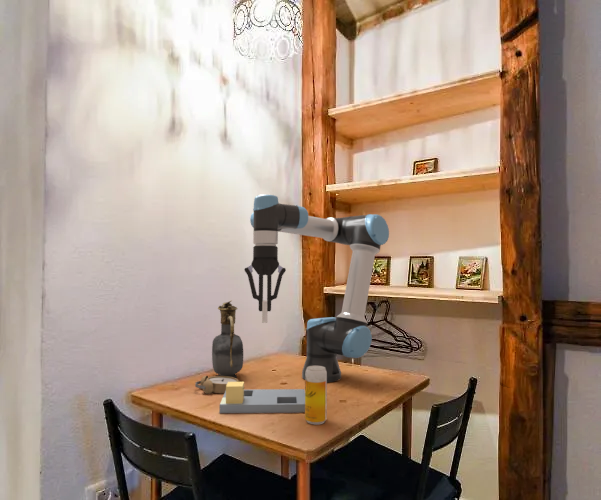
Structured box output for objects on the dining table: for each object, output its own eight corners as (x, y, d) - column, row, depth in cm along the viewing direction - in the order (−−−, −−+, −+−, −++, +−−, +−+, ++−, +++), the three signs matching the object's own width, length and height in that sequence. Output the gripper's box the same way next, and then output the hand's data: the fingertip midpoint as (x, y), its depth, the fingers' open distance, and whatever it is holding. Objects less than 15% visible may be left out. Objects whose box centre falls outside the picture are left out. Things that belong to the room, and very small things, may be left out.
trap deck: (304, 396, 141) (304, 389, 142) (307, 412, 126) (307, 404, 127) (225, 396, 140) (226, 389, 140) (219, 413, 125) (219, 405, 125)
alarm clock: (242, 383, 146) (199, 380, 141) (240, 398, 146) (196, 395, 140) (235, 375, 156) (194, 372, 151) (232, 389, 156) (191, 386, 150)
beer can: (304, 417, 122) (304, 365, 123) (324, 417, 123) (325, 365, 123) (306, 425, 116) (306, 370, 117) (327, 425, 117) (328, 370, 117)
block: (243, 397, 132) (244, 381, 132) (242, 403, 127) (242, 386, 127) (227, 398, 132) (227, 381, 132) (225, 403, 127) (225, 386, 127)
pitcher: (237, 372, 172) (238, 298, 173) (246, 385, 154) (247, 302, 155) (210, 374, 168) (211, 298, 169) (216, 387, 150) (217, 303, 151)
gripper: (286, 245, 135) (285, 320, 134) (245, 245, 134) (244, 320, 134) (286, 245, 127) (286, 323, 127) (243, 244, 127) (242, 323, 126)
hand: (264, 321), depth 130 cm, fingers closed
